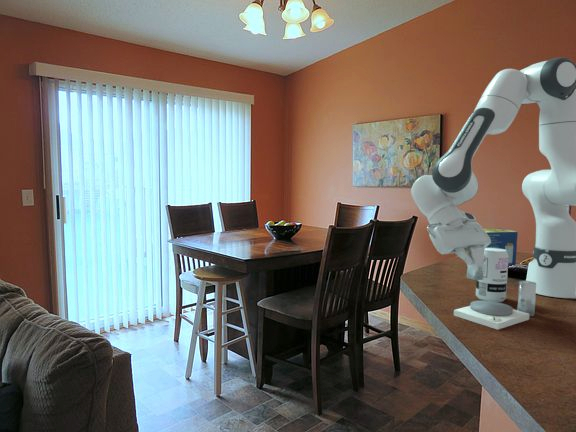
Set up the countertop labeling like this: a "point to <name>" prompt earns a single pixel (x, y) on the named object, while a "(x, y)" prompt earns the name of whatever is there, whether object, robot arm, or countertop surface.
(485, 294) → the supplement can
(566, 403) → the countertop surface
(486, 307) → the scale
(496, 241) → the protein box
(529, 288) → the cylinder
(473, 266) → the glossy grey rounded cylinder
